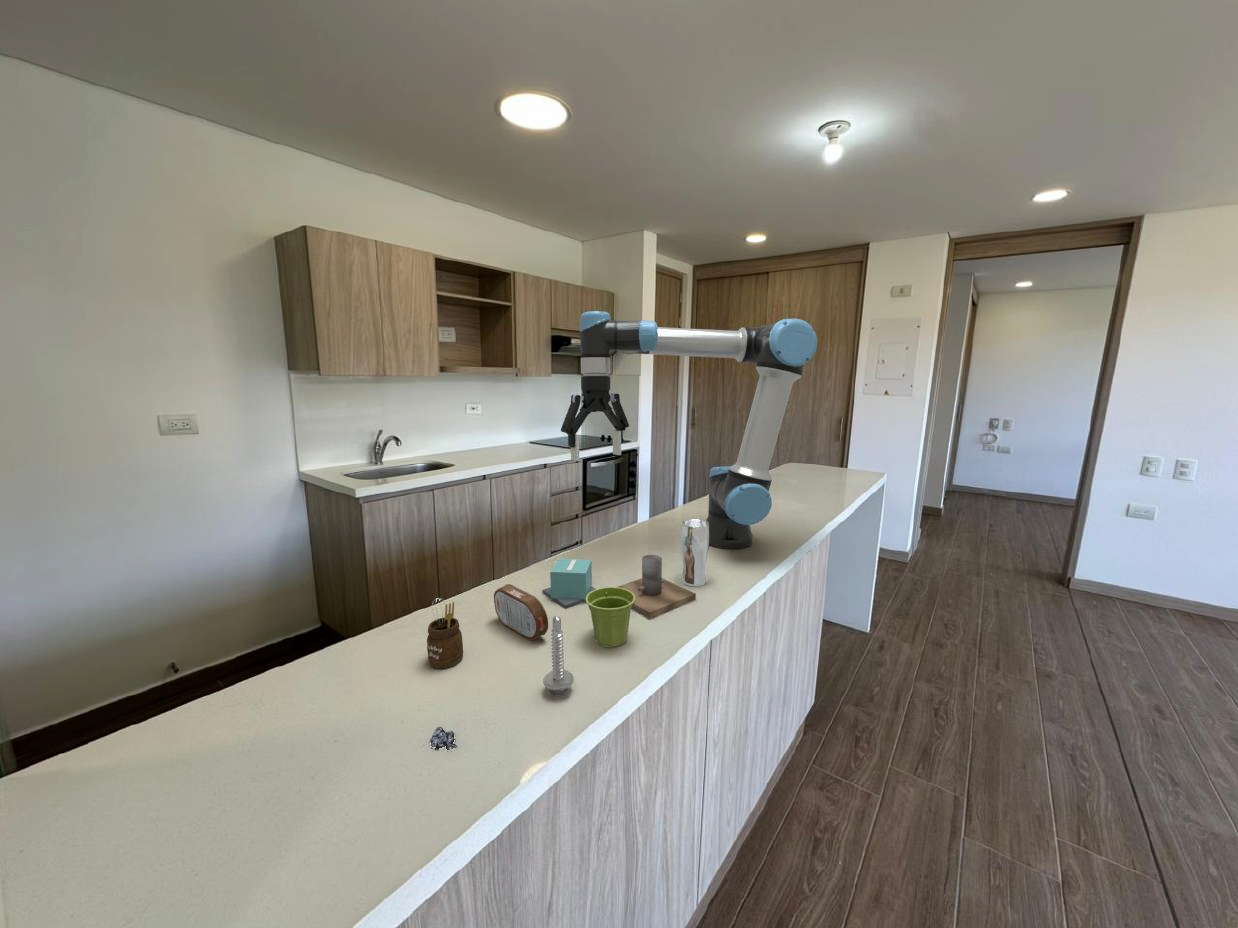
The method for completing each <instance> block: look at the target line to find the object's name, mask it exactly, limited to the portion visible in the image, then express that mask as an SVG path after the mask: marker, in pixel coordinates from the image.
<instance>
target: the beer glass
mask: <svg viewBox="0 0 1238 928" xmlns="http://www.w3.org/2000/svg"><path fill="white" fill-rule="evenodd" d="M680 524H681V527H680V536H679V537H680V538H679V539H680V540H679V541H680V542H679V543H680V553H681V560H682V575H681V579H680V580H681V583H682V584H683V585H685V586H688V587H691V588H692V587H695V588H697V587H703V586H705V585H706V584H707V577H706V564H707V560H708V559H707V558H708V553H709V550H710V545H709V523H708V522H707V521H706V520H704V519H699V518H688V519H684V520H682V521H681V523H680Z"/></svg>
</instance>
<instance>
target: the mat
mask: <svg viewBox="0 0 1238 928" xmlns="http://www.w3.org/2000/svg"><path fill="white" fill-rule="evenodd" d="M596 589H597V588H595V587H594V586H591V589H590V591H589V593H590V592H591V591H593V590H596ZM541 593H542V594H543V593H544V594H543V595H545V596H546V597H548V598H549V599H550V600H552V601H554V602H555V603H556V604H558V605H560V606H561V607H562V608H564V609H569V608H572V607H574V606H578V605H580V604H583V603H585V602H586V600H583V599H561V598H551V586H550V587H548V588H544V589H542V592H541Z"/></svg>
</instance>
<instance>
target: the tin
mask: <svg viewBox="0 0 1238 928" xmlns="http://www.w3.org/2000/svg"><path fill="white" fill-rule="evenodd" d="M493 603H494V609H495V613H496V615H497V617H498V618H499V620H500V622H501V623H502V624H503V625H504V626H505V627H507V628H508V629H510V630H512V631H514V632H515V633H517V634H518V635H521V636H522V637H524V638H525V639H527V640H530V641H533V640H536V639H538V638H540V637H542V636H544V635H546V633H547V632H548V630H549V618H548V615H547V612H546V610H545V607H544V605H543V604H542V602H541V601H540V600H539V599H538V598H537V597H536V596H534V595H532V593H529V592H527V591H524V590H522V589H521V588H519V587H517V586H515V585H513V584H511V583H507V584H505V585H504V586H502V587H499V588H497V589H496V590H495V591H494V593H493Z"/></svg>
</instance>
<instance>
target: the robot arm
mask: <svg viewBox="0 0 1238 928" xmlns="http://www.w3.org/2000/svg"><path fill="white" fill-rule="evenodd" d="M579 318H580V323H579V326H580V327H579V341H580V373H581V374H583V376H581V377H580V388H581V392H582V393H581V395H580V394H572V395H571V396H570V398H571V399H570V405H569V406H568V409H567V413H566V415H565V417H564V420H563V422H562V425H561V428H560V431H561V433H564V434H567V441H568V442H567V443H568V444H567V446H568V447H569V448H570V460H572V461H577V462H578V461H580V435H579V434H577V433H578V432H579V430H580V428H581V426H582V425H583V423H584V422H585V420H586V419H587V417H588V416H589V415H590V414H591V413H597V412H602V413H603V414H604V415H605V417H606V418H607V419H608V421H609V422H610V424H611V425H612V426H613V427H614V429H612V454H613V455H616V456H622V442H623V440H624V431H626V430H627V428H629V427H630V424H629V422H628V421H629V420H628V419H627V415H626V413H625V411H624V409H623V405H622V403H621V399H620V394H619V393H611V394H610V390H611V377H610V375H609V374H611V352H621V353H623V354H625V355H634V354H635V355H636V354H637V355H657V356H660V355H661V356H662V355H663V356H681V357H682V356H683V357H698V358H699V357H703V358H721V359H734V360H736V361H737V362H738V363H748V364H749V363H750V364H753V365H754V364H755V370H756V371H757V373H758V375H759V377H758V381H757V385H756V389H755V393H754V395H753V396H754V397H753V400H752V402H751V403H752V404H751V406H750V411H749V414H748V418H747V421H746V426H745V429H744V434H743V437H742V441H741V445H740V449H739V451H738V455H737V460H736V462H735V463H734V464H732V465H731V466H728V465H727V466H723V465H722V466H714V467H712V468H711V469H710V470H709V476H708V508H707V509H708V514H707V518H706V520H705V521H707V522H708V523H709V547H710V546H711V547H714V548H719V549H726V550H727V549H728V550H730V549H731V550H735V549H743V548H748V547H750V546H752V545H753V539H754V538H753V537H754V536H753V532H752V529H751V525H755V524H758V523H760V522H762V521H763V520H764V519H765V518H766V517H767V516H768V515H769V513H771V512H770V511H771V509H772V505H773V500H772V497H771V494H770V488H771V485H772V480H773V478H772V476H771V474H770V472H769V469H770V465H771V462H772V459H773V455H774V452H775V449H776V444H777V441H778V437H779V433H780V430H781V427H782V422H783V419H784V416H785V412H786V409H787V405H788V402H789V399H790V395H791V391H792V388H793V384H794V383H795V382H796V381H797V380H799V379H801V378H802V375H803V372H804V368H805V364H807V363H809V362H810V360H812V358H814V355H815V353H816V351H817V348H818V336H817V334H816V332H815V330H814V328H813V327H812V325H811V324H809V323H808V322H806V321H805V320H803V319H799V318H784V319H781V320H779V321H777V322H772V323H769V324H765V325H761V326H756V327H745V326H744V327H740V328H739V329H738V330H728V329H727V330H725V329H704V328H703V329H702V328H687V327H686V328H682V327H681V328H680V327H666V326H664V327H661V326H658V324H657V322H656V321H654V320H646V319H642V320H613V319H611V316H610V312H608V311H596V310H595V311H593V310H591V311H586V312H583V313H582V314H581V315H580V317H579ZM581 403H582V405H581ZM609 403H610V404H611V405H610V404H609ZM580 405H581V407H580ZM611 406H612V407H611Z"/></svg>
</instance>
